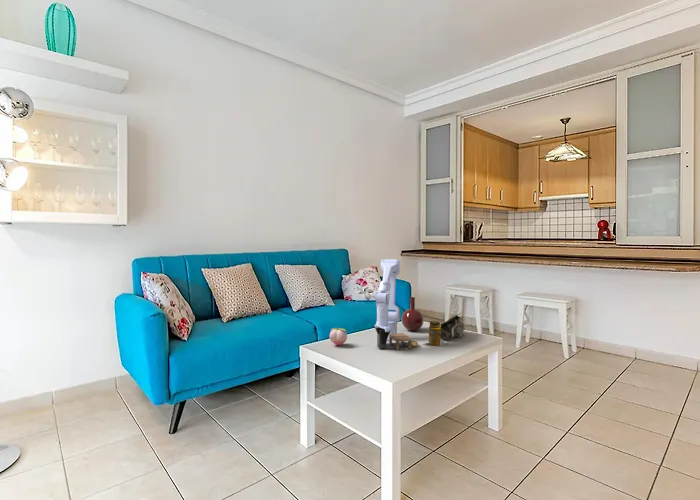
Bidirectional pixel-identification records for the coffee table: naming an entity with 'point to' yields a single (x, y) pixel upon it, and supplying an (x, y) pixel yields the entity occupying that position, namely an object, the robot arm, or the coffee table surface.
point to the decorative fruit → (338, 336)
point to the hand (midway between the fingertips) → (382, 342)
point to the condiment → (434, 335)
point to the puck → (414, 344)
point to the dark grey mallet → (381, 346)
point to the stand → (400, 339)
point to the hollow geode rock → (452, 328)
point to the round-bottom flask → (412, 317)
